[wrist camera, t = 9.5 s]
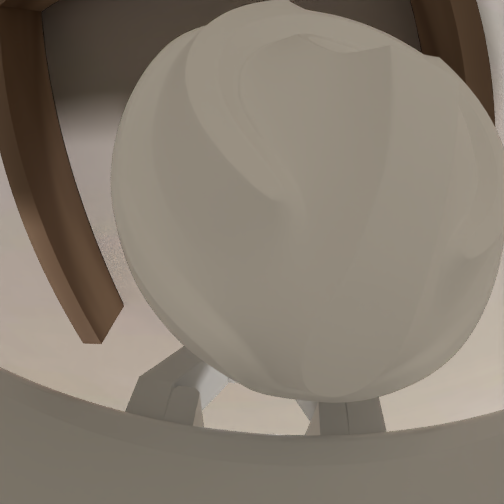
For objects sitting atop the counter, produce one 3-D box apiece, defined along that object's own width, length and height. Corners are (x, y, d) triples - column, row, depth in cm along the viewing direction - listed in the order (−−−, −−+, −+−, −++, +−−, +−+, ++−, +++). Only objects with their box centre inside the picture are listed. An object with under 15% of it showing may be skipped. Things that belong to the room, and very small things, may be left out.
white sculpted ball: (445, 91, 8) (641, 139, 1) (374, 279, 11) (440, 463, 5) (210, 16, 7) (67, -111, 1) (168, 229, 11) (57, 407, 4)
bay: (106, 307, 13) (83, 343, 11) (23, 5, 7) (-17, 1, 4) (446, 267, 11) (473, 303, 9) (402, -85, 4) (427, -112, 2)
